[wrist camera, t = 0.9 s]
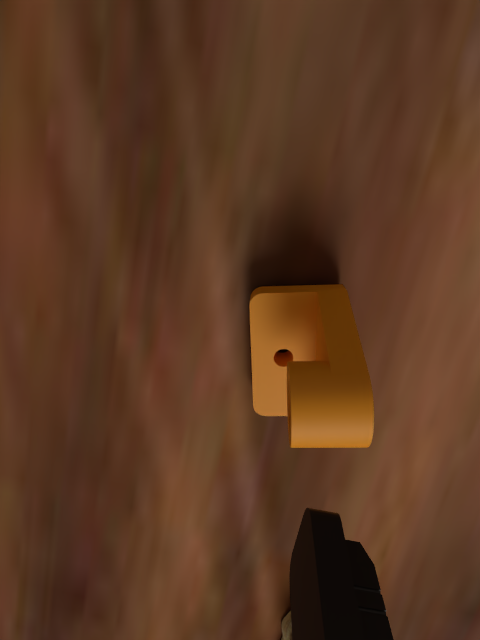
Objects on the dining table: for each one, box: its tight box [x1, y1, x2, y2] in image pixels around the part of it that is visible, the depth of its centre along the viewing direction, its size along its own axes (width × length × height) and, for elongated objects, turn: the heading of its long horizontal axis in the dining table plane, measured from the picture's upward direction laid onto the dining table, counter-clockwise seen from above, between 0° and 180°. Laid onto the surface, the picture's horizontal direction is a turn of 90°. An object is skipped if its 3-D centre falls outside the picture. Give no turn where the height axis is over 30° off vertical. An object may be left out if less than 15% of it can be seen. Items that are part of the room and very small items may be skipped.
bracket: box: [249, 284, 374, 448], centre depth 29 cm, size 11×7×12 cm, turn 3°
